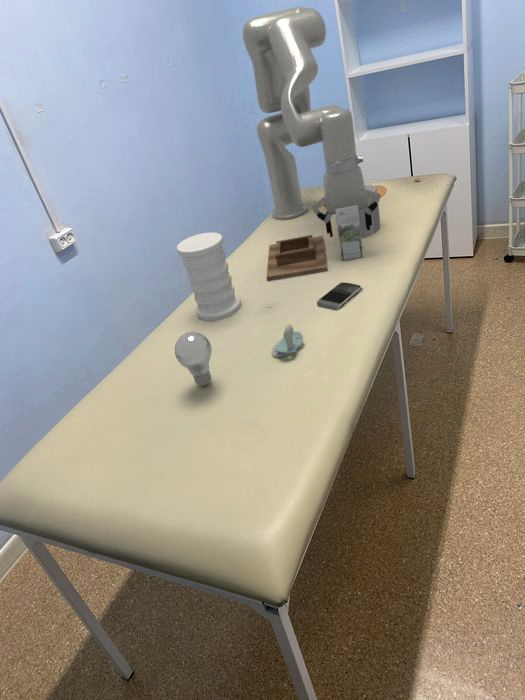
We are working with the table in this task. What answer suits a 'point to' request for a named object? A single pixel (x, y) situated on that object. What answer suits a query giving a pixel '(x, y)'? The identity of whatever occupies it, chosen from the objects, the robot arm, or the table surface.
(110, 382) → the table surface
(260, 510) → the table surface
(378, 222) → the toilet paper roll
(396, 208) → the table surface
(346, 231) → the syrup box
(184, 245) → the decorative container
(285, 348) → the pacifier
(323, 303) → the cell phone
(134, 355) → the table surface
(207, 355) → the light bulb
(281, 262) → the stand
